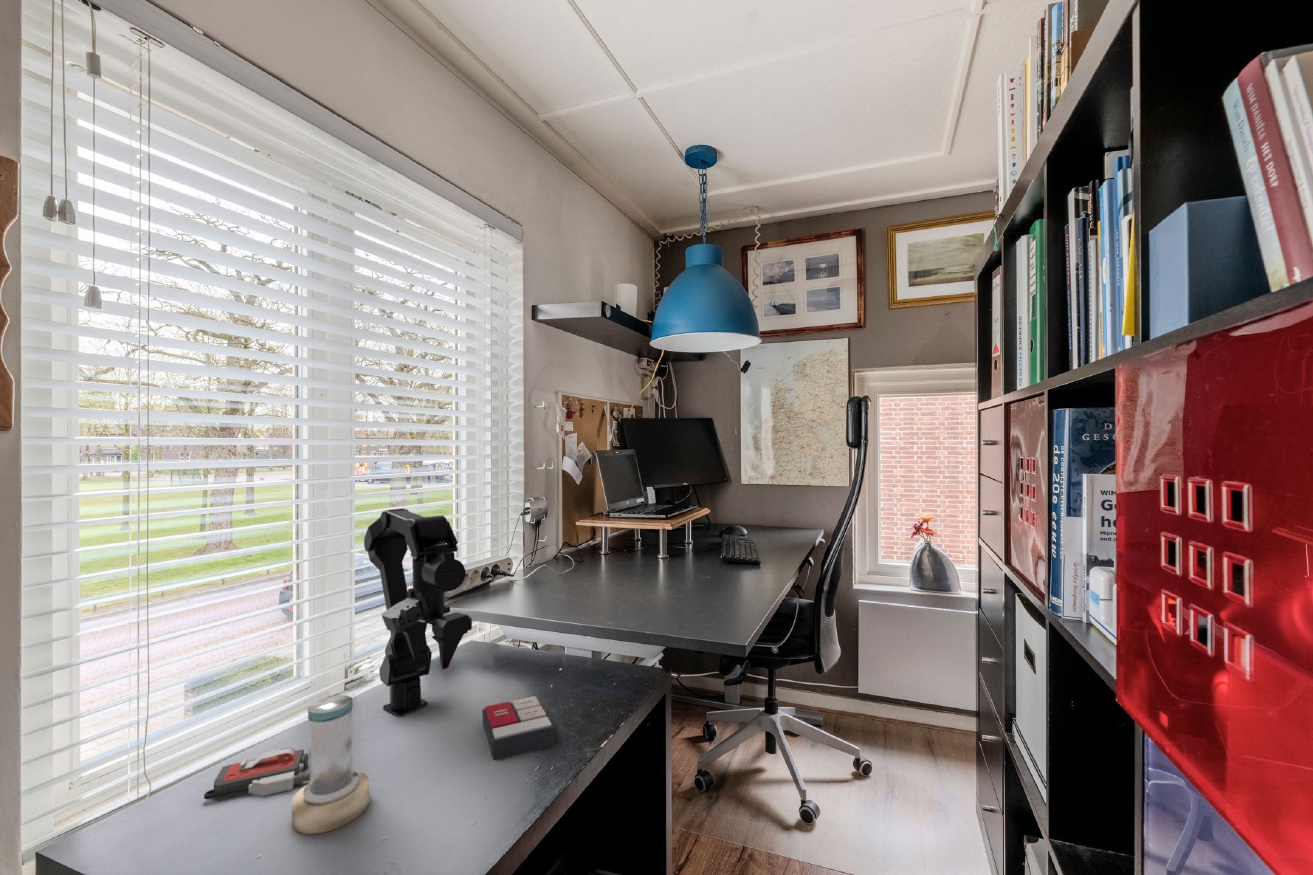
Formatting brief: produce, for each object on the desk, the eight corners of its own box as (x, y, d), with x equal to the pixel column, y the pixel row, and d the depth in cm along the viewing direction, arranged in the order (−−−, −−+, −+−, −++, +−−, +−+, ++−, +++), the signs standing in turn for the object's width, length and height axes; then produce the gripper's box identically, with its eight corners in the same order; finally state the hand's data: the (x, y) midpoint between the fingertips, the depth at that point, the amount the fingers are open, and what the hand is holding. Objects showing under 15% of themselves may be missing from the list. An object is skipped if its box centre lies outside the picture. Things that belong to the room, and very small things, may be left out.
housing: (303, 786, 84) (301, 700, 84) (356, 770, 88) (355, 688, 88) (303, 812, 78) (302, 719, 78) (361, 793, 82) (359, 705, 82)
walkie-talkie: (198, 814, 83) (349, 778, 92) (198, 785, 84) (348, 752, 92) (216, 782, 92) (353, 752, 100) (216, 756, 92) (353, 727, 100)
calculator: (537, 693, 114) (555, 722, 100) (537, 714, 114) (555, 746, 100) (481, 704, 109) (492, 736, 96) (482, 727, 109) (493, 762, 95)
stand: (279, 817, 82) (279, 796, 82) (348, 782, 90) (348, 763, 90) (311, 843, 76) (311, 821, 76) (382, 803, 84) (381, 783, 84)
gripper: (361, 585, 105) (362, 667, 105) (418, 598, 94) (419, 690, 94) (415, 573, 114) (417, 649, 114) (473, 584, 103) (474, 668, 103)
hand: (430, 663), depth 106 cm, fingers open, 9 cm apart
